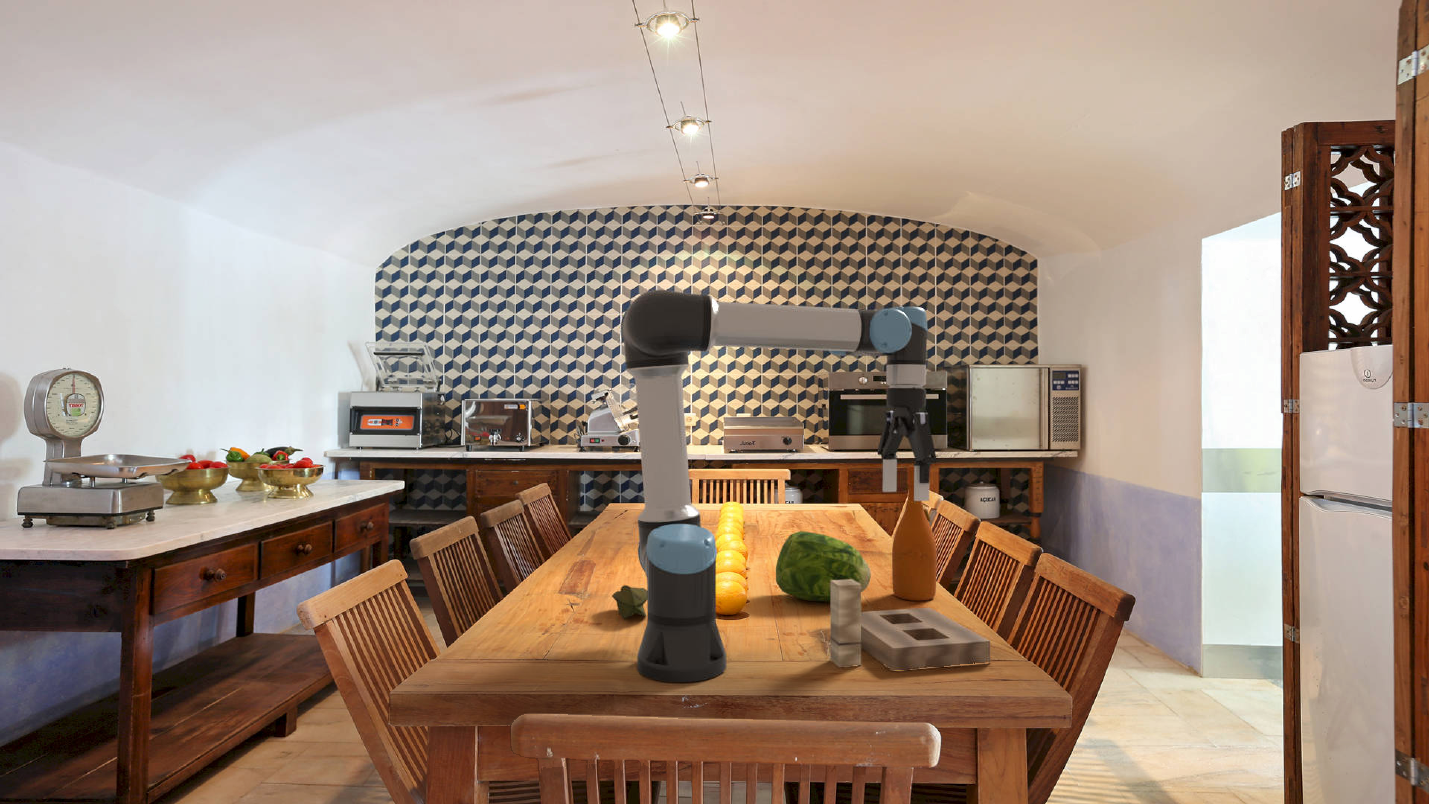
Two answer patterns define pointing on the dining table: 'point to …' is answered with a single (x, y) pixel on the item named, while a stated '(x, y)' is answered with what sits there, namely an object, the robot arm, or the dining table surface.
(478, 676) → the dining table surface
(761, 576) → the dining table surface
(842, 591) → the peg
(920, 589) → the wine bottle
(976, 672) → the dining table surface
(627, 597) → the fruit
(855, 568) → the lettuce
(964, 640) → the board
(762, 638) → the dining table surface
